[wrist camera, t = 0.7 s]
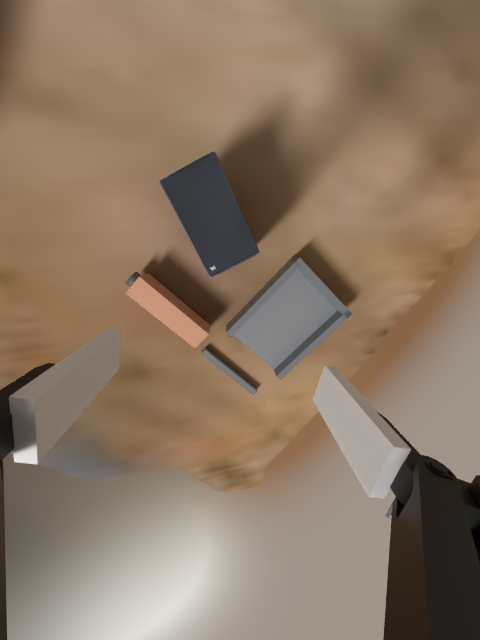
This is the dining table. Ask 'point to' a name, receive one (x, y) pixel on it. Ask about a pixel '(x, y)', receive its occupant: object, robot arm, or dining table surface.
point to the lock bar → (167, 308)
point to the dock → (285, 320)
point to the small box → (210, 214)
